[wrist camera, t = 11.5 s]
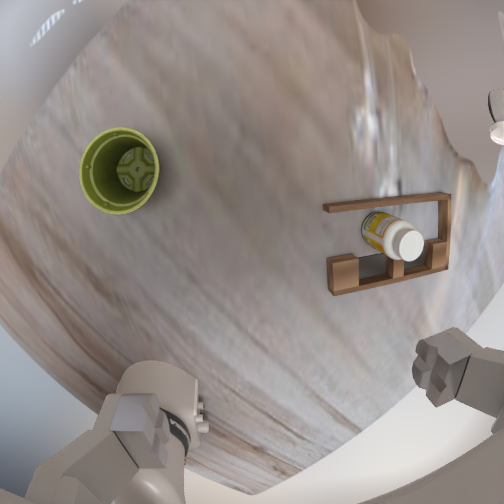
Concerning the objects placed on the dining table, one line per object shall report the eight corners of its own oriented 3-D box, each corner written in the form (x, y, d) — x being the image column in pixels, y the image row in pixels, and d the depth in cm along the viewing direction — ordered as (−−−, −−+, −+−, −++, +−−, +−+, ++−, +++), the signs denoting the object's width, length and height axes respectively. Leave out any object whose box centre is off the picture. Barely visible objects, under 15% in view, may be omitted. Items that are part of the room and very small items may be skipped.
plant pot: (140, 218, 38) (119, 232, 30) (94, 173, 36) (64, 176, 28) (187, 167, 37) (177, 167, 29) (138, 121, 35) (117, 110, 26)
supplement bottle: (360, 212, 41) (395, 226, 32) (391, 210, 41) (429, 222, 32) (360, 248, 43) (393, 269, 33) (390, 244, 43) (426, 263, 34)
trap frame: (439, 264, 45) (448, 269, 43) (328, 289, 44) (333, 296, 41) (441, 192, 41) (450, 194, 39) (322, 204, 40) (329, 206, 38)
